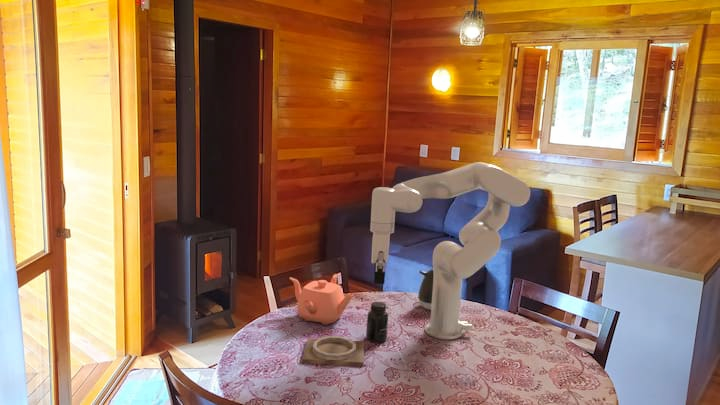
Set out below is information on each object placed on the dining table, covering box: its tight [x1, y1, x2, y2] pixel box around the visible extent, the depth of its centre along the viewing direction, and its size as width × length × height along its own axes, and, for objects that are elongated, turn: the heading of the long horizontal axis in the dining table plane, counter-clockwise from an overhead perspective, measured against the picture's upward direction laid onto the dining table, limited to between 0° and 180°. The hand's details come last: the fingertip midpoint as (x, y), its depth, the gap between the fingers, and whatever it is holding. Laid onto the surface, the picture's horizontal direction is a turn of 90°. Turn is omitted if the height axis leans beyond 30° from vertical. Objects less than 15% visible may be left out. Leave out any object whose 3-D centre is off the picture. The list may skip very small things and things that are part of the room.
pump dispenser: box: [417, 268, 434, 311], centre depth 203 cm, size 10×10×15 cm
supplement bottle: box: [365, 301, 389, 344], centre depth 174 cm, size 7×7×12 cm
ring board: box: [301, 335, 365, 367], centre depth 163 cm, size 18×14×3 cm
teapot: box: [289, 273, 354, 326], centre depth 189 cm, size 18×18×14 cm
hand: (379, 278), depth 172 cm, fingers open, 9 cm apart
